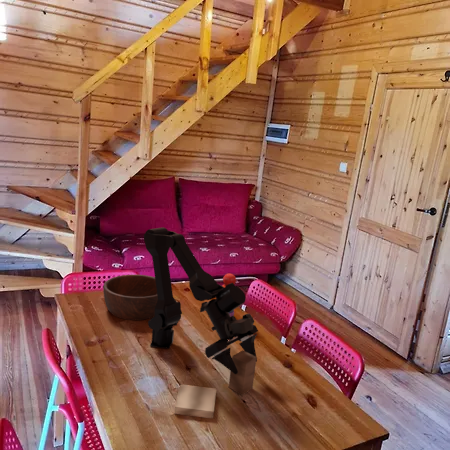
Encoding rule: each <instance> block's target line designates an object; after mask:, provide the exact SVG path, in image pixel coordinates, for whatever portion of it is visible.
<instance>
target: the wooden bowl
mask: <svg viewBox="0 0 450 450" xmlns="http://www.w3.org/2000/svg"><path fill="white" fill-rule="evenodd" d="M102 289H103V291H102V292H103V297H104V298H103V299H104V302H105V306H106V308H107V310H108V311H109V312H110V314H112V315H113V316H115V317H117V318H119V319H122V320H123V319H124V320H128V321H144V320H150V319H152V318H153V317H154V316H155V306H156V304H157V301H158V296H157V288H156V281H155V276H151V275H146V274H145V275H144V274H124V275H117V276H113V277H111V278H108V279H107V280H106V281H104V283H103V286H102Z"/></svg>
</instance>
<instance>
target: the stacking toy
mask: <svg viewBox="0 0 450 450" xmlns="http://www.w3.org/2000/svg"><path fill="white" fill-rule="evenodd" d="M222 283H223V284H222V286H223V287H224V288H225V287H226V286H227V285H228V284H230V283H233V284H234V285H235V284H236V283H237V277H236V275H235V274H233V273H225V275H224V276H223V277H222ZM228 313H229V314H230V316H235V309H234V310H233V311H231V312H228Z"/></svg>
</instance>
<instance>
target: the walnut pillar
mask: <svg viewBox="0 0 450 450" xmlns="http://www.w3.org/2000/svg"><path fill="white" fill-rule="evenodd" d="M231 357H232V359H233V361H234V363H235V366H236V368H237V370H238V373H237V374H234V373H233V372H231V371H230V370H229V371H230V372H229V380H228V388H229V389H231V390H233V391H234V392H236V393H238V394H239V395H241V396H244V395H245V394H246V393H248V392H249V391H251V390H252V389H253V388H254V387H253V386H254V379H255V372H256V365H257V362H256V359H257V360H258V357H257V355H256V356H253V355H251V354H249V353H247V352H245V351H244V350H243V349H242V350H241V351H239V352H237V353H235V354H234V355H232V356H231Z"/></svg>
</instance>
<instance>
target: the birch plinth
mask: <svg viewBox="0 0 450 450" xmlns="http://www.w3.org/2000/svg"><path fill="white" fill-rule="evenodd" d="M216 394H217V388H215V387H214V388H213V387H204V386H198V385H197V386H196V385H188V384H180V385H179V390H178V393H177V397H176V400H175V405H174V411H173V414H175V415H182V416H191V417H198V418H199V417H200V418H207V419H214V412H215V403H216V396H217V395H216Z"/></svg>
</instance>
